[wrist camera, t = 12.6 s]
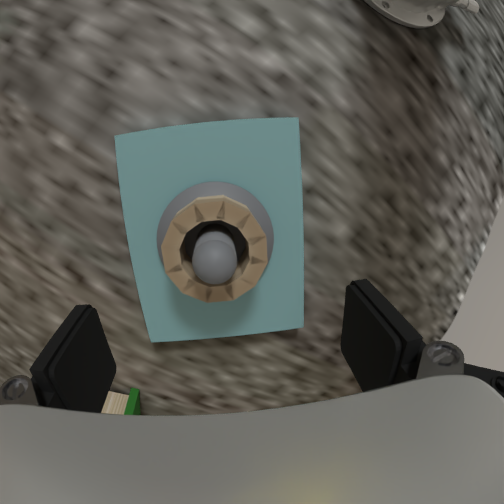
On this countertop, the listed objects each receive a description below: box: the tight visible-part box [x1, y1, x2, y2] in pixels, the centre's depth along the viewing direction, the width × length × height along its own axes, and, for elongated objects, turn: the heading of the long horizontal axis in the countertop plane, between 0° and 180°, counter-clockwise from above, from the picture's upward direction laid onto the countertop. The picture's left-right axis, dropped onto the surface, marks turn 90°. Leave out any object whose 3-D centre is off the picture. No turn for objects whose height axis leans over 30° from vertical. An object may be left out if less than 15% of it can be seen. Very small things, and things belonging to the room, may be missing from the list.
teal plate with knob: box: [115, 118, 304, 342], centre depth 21 cm, size 14×18×8 cm
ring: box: [161, 195, 268, 303], centre depth 22 cm, size 7×7×3 cm
